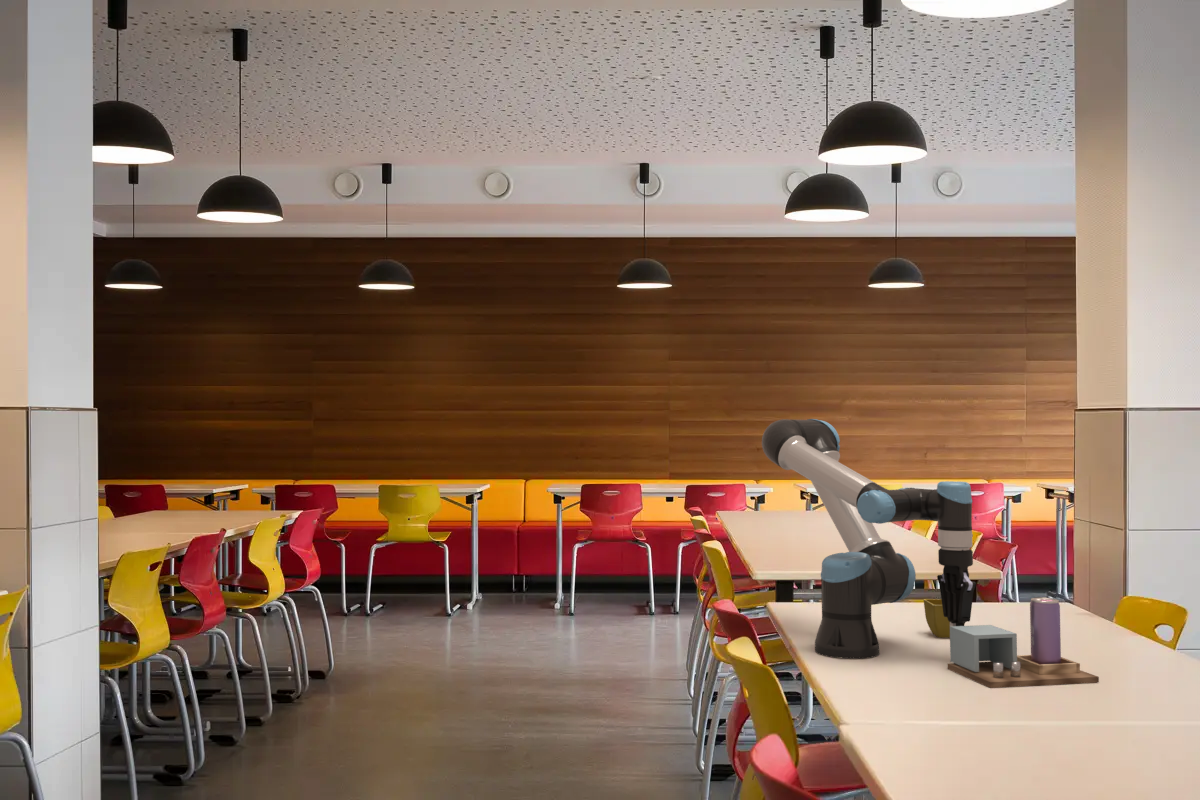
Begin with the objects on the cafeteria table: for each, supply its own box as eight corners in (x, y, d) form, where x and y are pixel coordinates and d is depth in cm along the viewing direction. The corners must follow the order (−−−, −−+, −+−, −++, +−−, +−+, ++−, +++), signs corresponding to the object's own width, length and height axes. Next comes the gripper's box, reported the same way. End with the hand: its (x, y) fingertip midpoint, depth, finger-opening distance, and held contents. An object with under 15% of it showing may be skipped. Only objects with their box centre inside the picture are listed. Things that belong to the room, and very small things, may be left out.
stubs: (996, 678, 206) (996, 664, 207) (991, 676, 208) (991, 662, 208) (1022, 677, 207) (1022, 662, 208) (1017, 675, 209) (1016, 660, 210)
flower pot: (968, 640, 251) (967, 604, 252) (933, 640, 251) (933, 604, 252) (956, 633, 260) (956, 598, 260) (923, 633, 260) (922, 598, 261)
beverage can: (1064, 672, 211) (1062, 602, 212) (1034, 671, 213) (1033, 601, 213) (1057, 666, 217) (1055, 597, 218) (1028, 665, 218) (1027, 597, 219)
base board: (990, 688, 203) (990, 672, 204) (947, 668, 220) (947, 654, 220) (1098, 682, 208) (1098, 667, 208) (1048, 664, 224) (1048, 650, 225)
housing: (974, 671, 211) (974, 635, 211) (950, 661, 221) (949, 626, 221) (1017, 669, 213) (1016, 633, 213) (991, 659, 223) (990, 624, 223)
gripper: (985, 550, 223) (987, 656, 222) (955, 544, 236) (957, 644, 235) (955, 551, 221) (957, 657, 220) (926, 545, 234) (928, 645, 233)
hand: (957, 650), depth 228 cm, fingers closed
